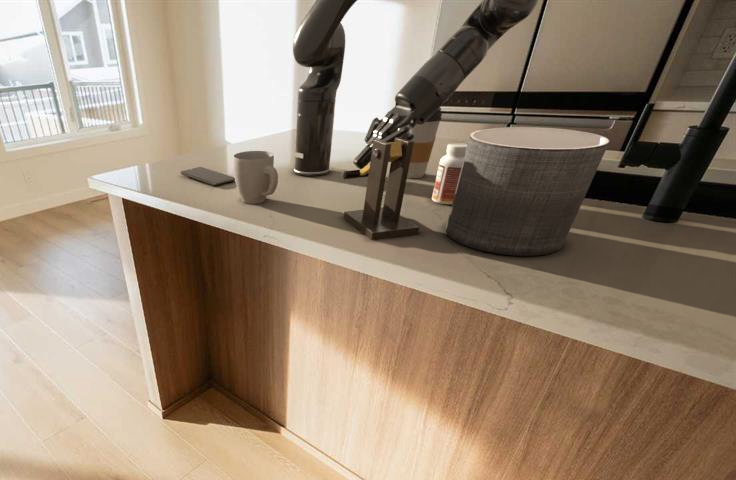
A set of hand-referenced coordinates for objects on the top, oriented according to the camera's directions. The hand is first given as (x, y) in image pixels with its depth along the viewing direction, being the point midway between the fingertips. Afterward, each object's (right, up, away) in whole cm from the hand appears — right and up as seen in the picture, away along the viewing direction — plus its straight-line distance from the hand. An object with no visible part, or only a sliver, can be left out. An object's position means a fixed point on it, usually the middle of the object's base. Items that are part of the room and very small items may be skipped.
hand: (357, 165), depth 83 cm
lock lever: (+2, -3, -5) cm, 6 cm away
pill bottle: (+21, -5, +7) cm, 23 cm away
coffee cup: (+21, +8, +24) cm, 33 cm away
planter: (+22, -16, -10) cm, 29 cm away
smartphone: (-31, +9, +31) cm, 45 cm away
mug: (-18, -3, +13) cm, 23 cm away
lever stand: (+3, -13, -3) cm, 13 cm away
